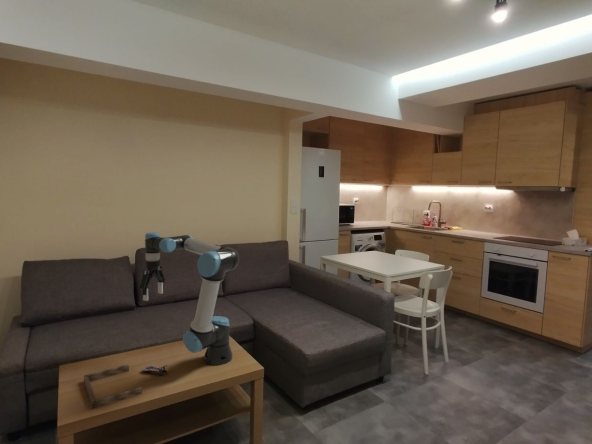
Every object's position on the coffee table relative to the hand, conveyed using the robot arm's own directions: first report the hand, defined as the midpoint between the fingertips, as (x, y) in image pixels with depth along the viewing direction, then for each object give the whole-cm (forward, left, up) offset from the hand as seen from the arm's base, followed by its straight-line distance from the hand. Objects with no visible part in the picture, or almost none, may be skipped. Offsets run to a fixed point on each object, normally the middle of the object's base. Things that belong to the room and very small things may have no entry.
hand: (153, 296), depth 200 cm
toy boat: (-19, +23, -34) cm, 45 cm away
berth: (-5, +38, -32) cm, 50 cm away
